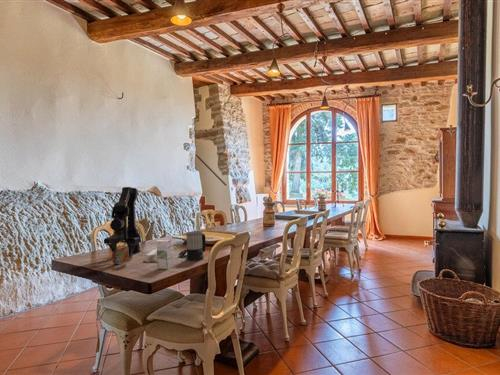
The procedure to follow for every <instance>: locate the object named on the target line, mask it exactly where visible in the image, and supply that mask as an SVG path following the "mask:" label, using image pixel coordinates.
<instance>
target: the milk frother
mask: <svg viewBox="0 0 500 375" xmlns="http://www.w3.org/2000/svg"><path fill="white" fill-rule="evenodd" d="M185 235H186V249H184V250H181V251H180V252H179V254H178V257H180V258H186V260H187V261H188V262H189V261H191V262H195V261H196V262H197V261H202V260H203V259H204V253H205V252H206V241H207V240H206V235H205V233H203V231H197V230H196V231H189V232H185Z"/></svg>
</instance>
